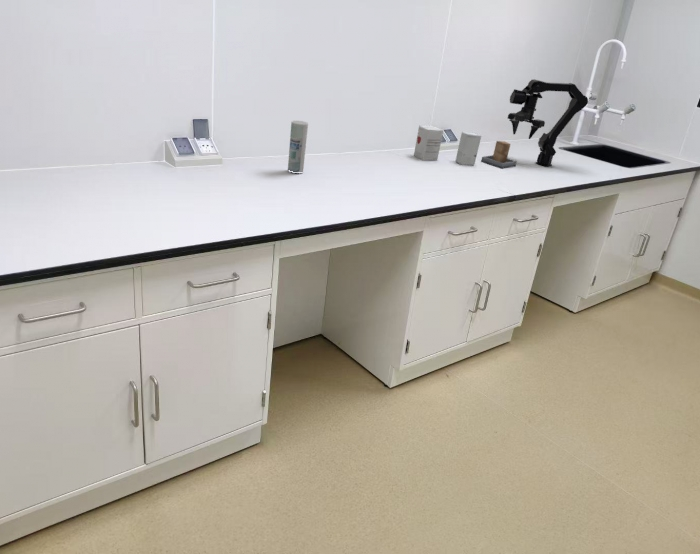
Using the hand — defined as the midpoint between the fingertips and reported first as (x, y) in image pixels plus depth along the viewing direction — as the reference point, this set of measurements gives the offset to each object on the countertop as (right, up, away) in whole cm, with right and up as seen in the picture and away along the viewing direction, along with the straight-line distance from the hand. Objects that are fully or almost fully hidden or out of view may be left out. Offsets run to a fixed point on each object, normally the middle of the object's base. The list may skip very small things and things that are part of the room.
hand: (521, 136), depth 301 cm
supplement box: (-52, -14, -13) cm, 55 cm away
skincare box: (-32, -17, -13) cm, 38 cm away
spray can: (-111, -30, -64) cm, 132 cm away
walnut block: (-13, -14, -5) cm, 20 cm away
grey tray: (-13, -15, -5) cm, 21 cm away
